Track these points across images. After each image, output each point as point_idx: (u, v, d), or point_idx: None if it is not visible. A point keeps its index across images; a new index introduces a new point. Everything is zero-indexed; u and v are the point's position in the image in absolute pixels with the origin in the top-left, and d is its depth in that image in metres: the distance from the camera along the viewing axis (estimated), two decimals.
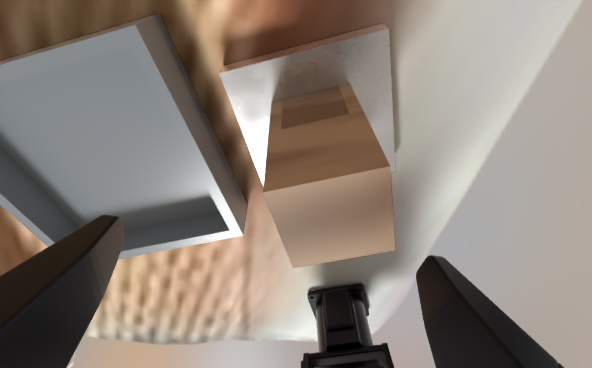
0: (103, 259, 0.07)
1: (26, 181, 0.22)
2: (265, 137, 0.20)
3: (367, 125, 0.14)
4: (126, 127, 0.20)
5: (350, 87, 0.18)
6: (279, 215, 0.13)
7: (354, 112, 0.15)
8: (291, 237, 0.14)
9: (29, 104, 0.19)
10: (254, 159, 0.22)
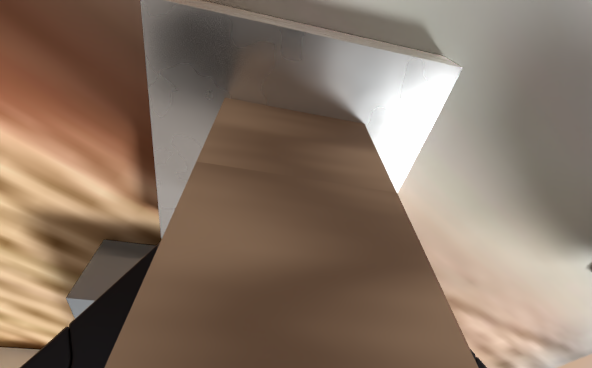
0: None
1: None
2: None
3: None
4: None
5: None
6: None
7: None
8: None
9: None
10: None
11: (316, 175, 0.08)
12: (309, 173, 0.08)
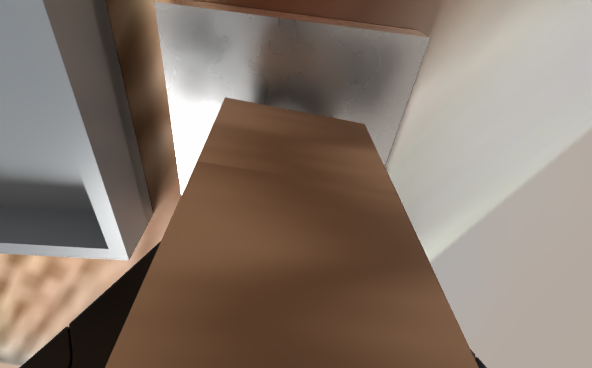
0: None
1: None
2: (204, 130, 0.13)
3: (176, 211, 0.06)
4: None
5: None
6: None
7: None
8: None
9: None
10: (178, 156, 0.14)
11: (316, 175, 0.08)
12: (309, 173, 0.08)
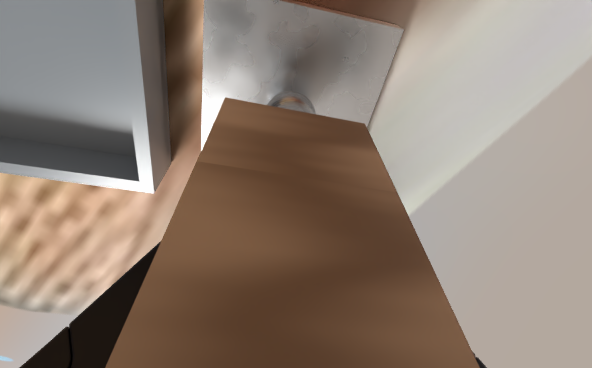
0: None
1: None
2: (227, 88, 0.17)
3: (176, 211, 0.06)
4: None
5: None
6: None
7: None
8: None
9: None
10: (203, 109, 0.18)
11: (316, 175, 0.08)
12: (310, 173, 0.08)
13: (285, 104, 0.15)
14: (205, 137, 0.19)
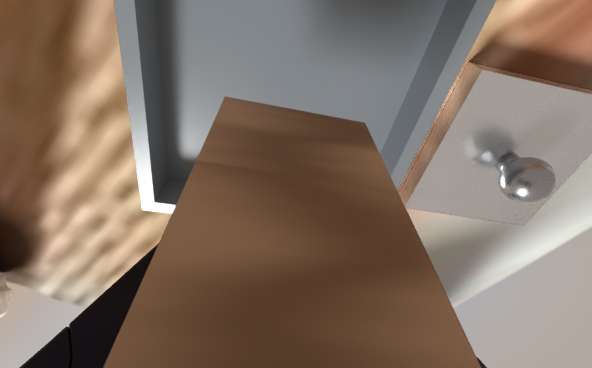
0: None
1: (157, 80, 0.16)
2: (459, 150, 0.19)
3: (176, 210, 0.06)
4: (334, 75, 0.16)
5: (221, 106, 0.10)
6: None
7: None
8: None
9: None
10: (429, 166, 0.20)
11: (316, 174, 0.07)
12: (310, 172, 0.07)
13: (541, 173, 0.17)
14: (418, 189, 0.21)
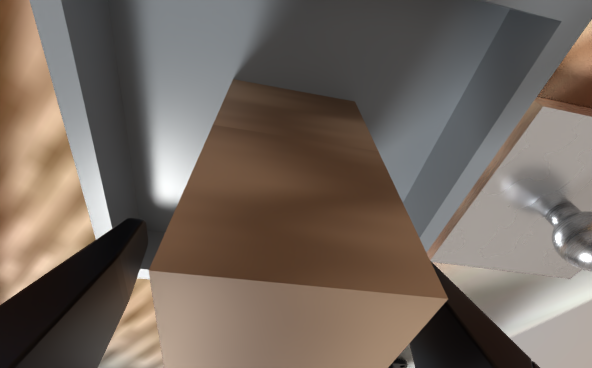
0: (130, 262, 0.07)
1: (118, 119, 0.12)
2: (502, 199, 0.15)
3: None
4: None
5: (230, 87, 0.11)
6: None
7: None
8: None
9: (236, 6, 0.10)
10: (463, 217, 0.16)
11: (311, 137, 0.09)
12: (305, 135, 0.09)
13: None
14: (448, 241, 0.17)
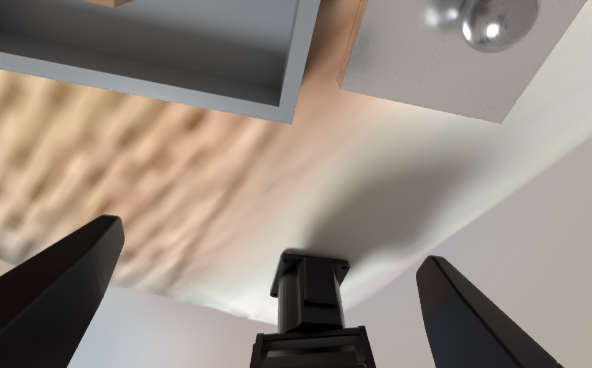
0: (103, 259, 0.07)
1: None
2: None
3: None
4: None
5: None
6: None
7: None
8: None
9: None
10: (366, 14, 0.14)
11: None
12: None
13: None
14: (355, 55, 0.15)
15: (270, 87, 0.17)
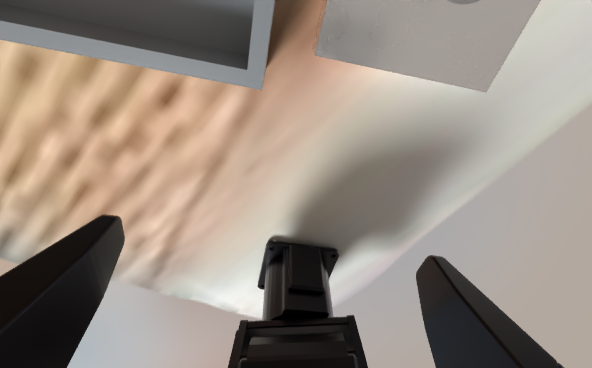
0: (103, 259, 0.07)
1: None
2: None
3: None
4: None
5: None
6: None
7: None
8: None
9: None
10: None
11: None
12: None
13: None
14: (328, 17, 0.15)
15: (242, 54, 0.16)
